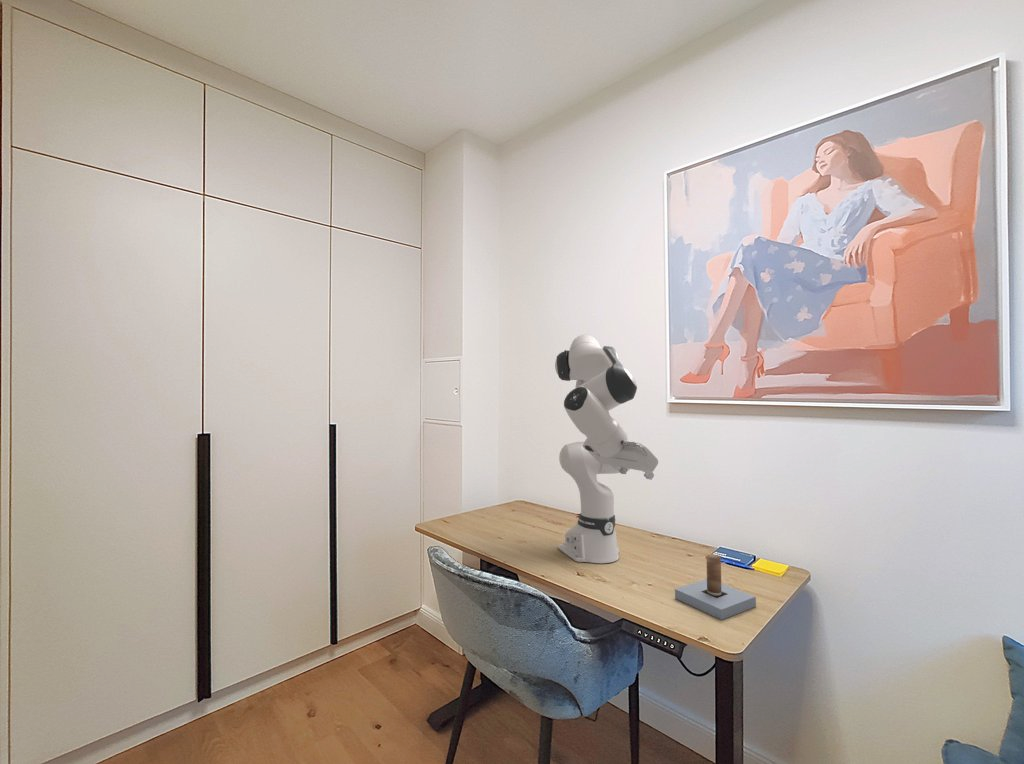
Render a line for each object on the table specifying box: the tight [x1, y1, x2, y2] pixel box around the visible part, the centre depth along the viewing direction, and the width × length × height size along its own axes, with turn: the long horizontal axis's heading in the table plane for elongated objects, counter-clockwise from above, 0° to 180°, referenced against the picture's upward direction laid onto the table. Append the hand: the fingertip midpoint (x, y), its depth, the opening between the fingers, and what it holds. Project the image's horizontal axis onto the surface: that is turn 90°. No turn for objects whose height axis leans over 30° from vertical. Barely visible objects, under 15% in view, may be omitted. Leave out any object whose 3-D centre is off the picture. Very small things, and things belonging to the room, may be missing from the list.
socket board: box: [674, 578, 757, 621], centre depth 122 cm, size 14×14×2 cm
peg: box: [706, 553, 722, 598], centre depth 122 cm, size 4×4×12 cm
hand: (637, 474), depth 124 cm, fingers open, 8 cm apart
